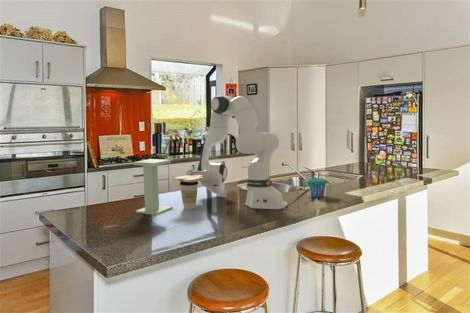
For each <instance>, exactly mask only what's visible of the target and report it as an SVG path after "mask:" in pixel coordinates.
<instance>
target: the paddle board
mask: <svg viewBox="0 0 470 313" xmlns="http://www.w3.org/2000/svg"><path fill="white" fill-rule="evenodd" d="M204 176H205V175H201V174H198V175H193V176H188V175H186V174H183V175H180V176H176V177H172V181H177V182H181V181H184V182H196V181H197V182H200V180H204V178H205V177H204Z"/></svg>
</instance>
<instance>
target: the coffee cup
mask: <svg viewBox="0 0 470 313" xmlns="http://www.w3.org/2000/svg"><path fill="white" fill-rule="evenodd" d="M198 184H199V181H196V182H184V181H179V186H180V193H181V200H182V204H183V210H186V211H187V210H188V211H189V210H190V211H191V210H195V209H196V208H197V207H196V206H197V198H198Z"/></svg>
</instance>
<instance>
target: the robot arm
mask: <svg viewBox="0 0 470 313" xmlns="http://www.w3.org/2000/svg"><path fill="white" fill-rule="evenodd" d="M210 108H211V110H212V113H211V114H210V123H209V130H208V133H207V135H206V136H205V137H204V138H203V143H202V147H201V152H200V158H199V163H198V165H197V168H196V169H197V170H193V169H192V168H189V169H188V170H187V171H186V172H185V173H186V174H185V175H188V176H193V175H198V174H201V175H205V176H204V177H205V178H204V180H200V181H199V183H200V184H201V185H202V186H203V187H204V188H205V189H207V190H208V191H209V192H211V193H213V194H216V195H219V194H221V193H223V192H224V191H225V187H226V186H225V180H226V179H227V177H228V169H227V166H226V165H225V163H224V162H223V163H222V162H210V161H209V159H210V154H211V149H212V147H213V146H216V145H217V144H221V143H222V142H224V141H225V140H226V139H227V138H228V135H229V120H230V118H232V119H235V120H236V123H237V124H238V125H237V126H238V128H239V135H238V136H237V137H236V141H235V147H236V150H237V151H238V152H239V153H240V154H247V155H253V154H254V157H253V158H252V160H251V161H250V162H249V163H248V165H247V178H246V181H247V182H246V186H247V188H246V189H247V195H246V200H245V205H246V206H247V207H249V208H250V209H261V210H263V209H264V210H266V209H267V210H281V209H284V208H286V207H287V206H288V202H286V201H284V199H283V194H282V193H281V191H279V190H278V189H277V188H275V187H274V186H273V179H270V178H269V168H270V167H269V166H270V165H269V164H270V161H271V158H272V156H273V153H274V152H275V151H276V150H277V149H278V148H279V146H280V139H279V136H277V134H276V133H273V132H267V131H266V132H257V131H256V128H257V127H258V125H259V118H258V116H257V114H256V112H255V110H254V108H253V106H252V104H251V103H250V102H249V100H248V98H246V97H245V96H243V95H238V96H236V97H234V96H228V95H216V96H214V97H213V98H212V100H211V103H210Z"/></svg>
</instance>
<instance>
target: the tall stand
mask: <svg viewBox="0 0 470 313" xmlns="http://www.w3.org/2000/svg"><path fill="white" fill-rule="evenodd" d="M171 163H172V160H171V159H161V158H158V159H157V158H148V159H144V160H138V161H133V164H132V165H133V166H142V169H143V189H144V190H143V192H144V193H143V194H144V207H142V208H139V209H136V210H135V213H136V214H145V215H153V216H158V215H160V214H164V213H166V212H168V211H171V210H173V209H174V207H173V206H171V205H168V206H167V205H160V204H159V203H160V198H159V178H158V177H159V175H158V166H161V165H167V164H171ZM170 209H171V210H170Z"/></svg>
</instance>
